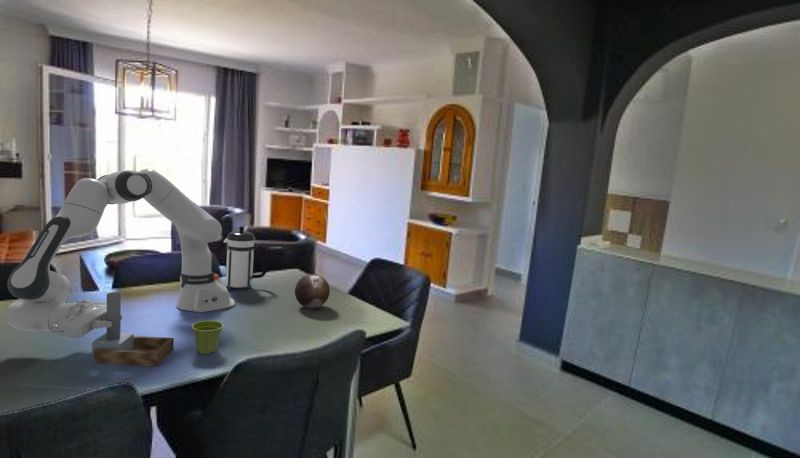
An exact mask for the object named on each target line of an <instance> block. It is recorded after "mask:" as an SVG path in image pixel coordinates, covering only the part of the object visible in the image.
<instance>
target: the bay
mask: <svg viewBox="0 0 800 458" xmlns="http://www.w3.org/2000/svg"><path fill="white" fill-rule="evenodd" d="M174 338H175V337H162V336H161V337H159V336H146V335H144V336H143V335H134V349H133V350H114V349H95V350H94V358H93V364H103V365H104V364H105V365H107V364H108V365H124V366H141V367H142V366H145V367H158V366H159V365H160V364H161V363H162V362H163V361H164V360H165V359H166V358H167V357H168V356H169V355H170V354H171V353H172V352H173V351H174V348H175V347H174V346H175V344H174V343H175V342H174V341H175V339H174Z"/></svg>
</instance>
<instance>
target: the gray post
mask: <svg viewBox="0 0 800 458" xmlns="http://www.w3.org/2000/svg"><path fill="white" fill-rule="evenodd" d="M121 297H122V293H121V292H118V291H113V292H108V293H106V303H107V320H113V326H111V327H110V328H109V327H106V332H105V333H104V334H102V335H100V337H97V339H94V341H92V343H91V352H92V353H91V358H92V359H94V350H95V349H114V350H133V349H134V336H135V335H134V333H125V332H121V322H122V320H121V315H122V314H121V313H122V312H121V309H122V307H121V306H122V305H121V304H122V302H121V299H122V298H121Z"/></svg>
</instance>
